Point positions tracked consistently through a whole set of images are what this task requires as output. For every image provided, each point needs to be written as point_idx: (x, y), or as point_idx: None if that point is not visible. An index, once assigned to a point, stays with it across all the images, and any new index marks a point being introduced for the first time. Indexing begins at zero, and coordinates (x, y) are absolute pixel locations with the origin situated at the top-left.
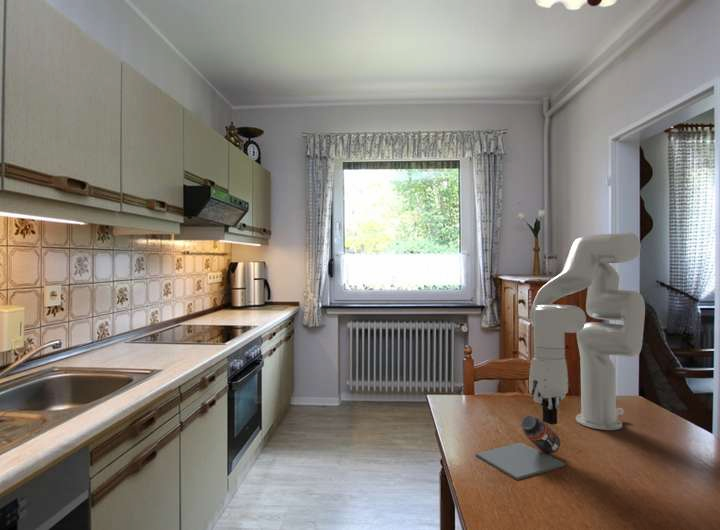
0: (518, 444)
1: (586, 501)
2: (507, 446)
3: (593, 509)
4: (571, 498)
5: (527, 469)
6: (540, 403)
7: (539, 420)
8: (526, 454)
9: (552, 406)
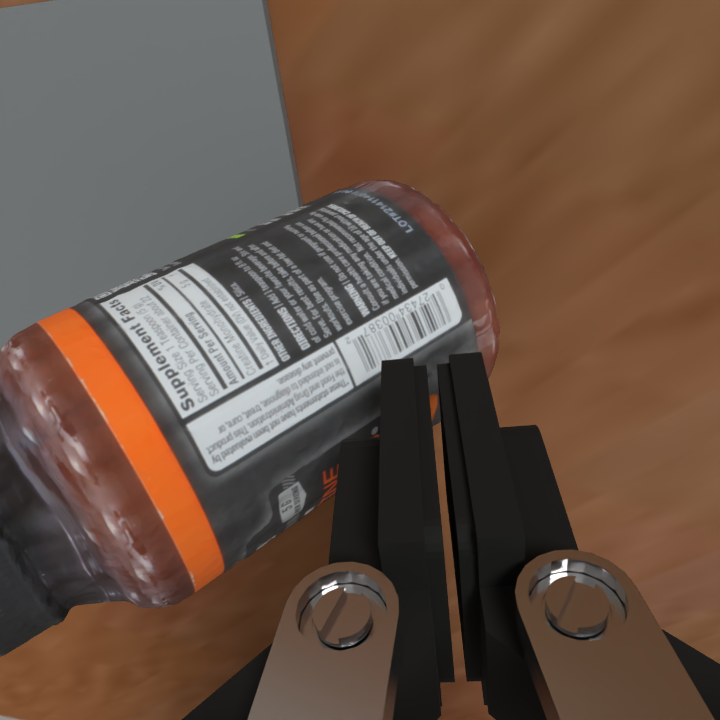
0: (188, 20)
1: (176, 672)
2: (31, 23)
3: (164, 703)
4: (125, 645)
5: None
6: (204, 713)
7: (120, 591)
8: (140, 257)
9: (488, 693)
